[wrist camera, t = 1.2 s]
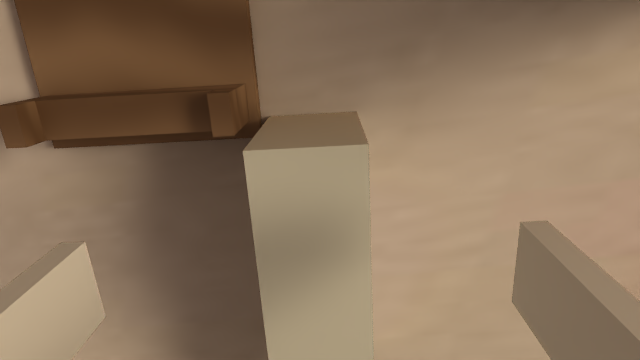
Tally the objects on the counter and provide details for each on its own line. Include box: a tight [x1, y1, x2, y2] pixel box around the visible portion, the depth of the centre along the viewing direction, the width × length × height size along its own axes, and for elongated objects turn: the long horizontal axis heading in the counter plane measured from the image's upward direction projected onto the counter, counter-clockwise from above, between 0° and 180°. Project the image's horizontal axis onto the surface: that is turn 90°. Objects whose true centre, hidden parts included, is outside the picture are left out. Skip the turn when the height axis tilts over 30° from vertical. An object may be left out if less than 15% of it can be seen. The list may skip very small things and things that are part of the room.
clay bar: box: [243, 111, 374, 360], centre depth 23 cm, size 16×5×8 cm, turn 3°
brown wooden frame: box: [0, 0, 262, 148], centre depth 20 cm, size 14×12×5 cm
